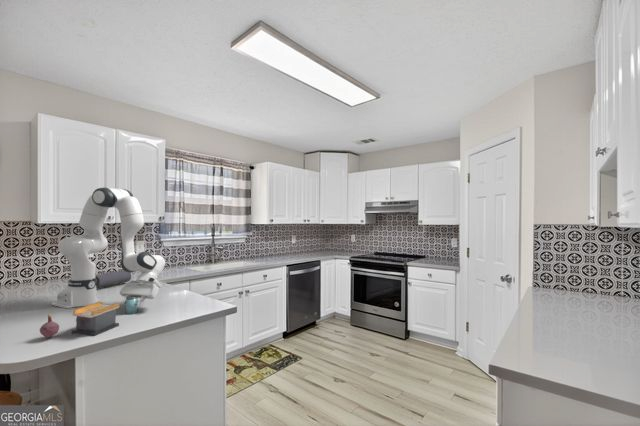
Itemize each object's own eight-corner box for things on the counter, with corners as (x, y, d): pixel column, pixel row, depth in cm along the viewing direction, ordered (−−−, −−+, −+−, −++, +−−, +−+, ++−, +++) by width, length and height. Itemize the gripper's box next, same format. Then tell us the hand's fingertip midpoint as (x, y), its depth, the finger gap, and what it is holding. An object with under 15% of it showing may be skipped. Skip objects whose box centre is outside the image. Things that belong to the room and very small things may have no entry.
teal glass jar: (123, 313, 155) (124, 298, 155) (131, 310, 160) (131, 295, 160) (131, 314, 154) (132, 299, 154) (139, 311, 159) (139, 296, 159)
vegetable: (48, 335, 126) (48, 311, 126) (63, 335, 126) (63, 311, 127) (35, 341, 120) (35, 316, 120) (51, 341, 120) (51, 316, 120)
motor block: (65, 333, 128) (65, 309, 128) (94, 322, 142) (95, 300, 142) (93, 336, 126) (93, 312, 126) (120, 324, 139) (121, 303, 140)
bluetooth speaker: (122, 282, 221) (123, 269, 222) (131, 283, 218) (132, 270, 218) (90, 289, 200) (90, 274, 200) (99, 290, 197) (100, 275, 197)
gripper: (126, 277, 166) (110, 299, 156) (158, 279, 162) (144, 302, 152) (132, 283, 170) (117, 305, 160) (164, 285, 166) (150, 308, 157)
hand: (130, 304), depth 156 cm, fingers open, 6 cm apart
